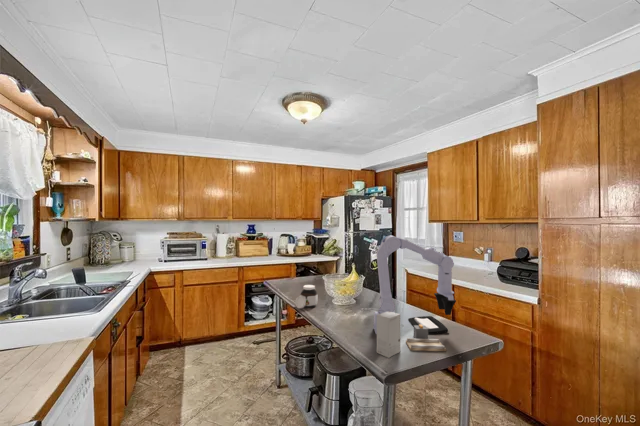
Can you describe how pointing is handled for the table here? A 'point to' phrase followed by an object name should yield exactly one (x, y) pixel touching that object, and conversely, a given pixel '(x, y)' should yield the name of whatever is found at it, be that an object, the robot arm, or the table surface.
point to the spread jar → (307, 297)
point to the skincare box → (388, 334)
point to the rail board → (425, 344)
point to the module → (420, 332)
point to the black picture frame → (429, 324)
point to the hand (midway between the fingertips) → (444, 311)
